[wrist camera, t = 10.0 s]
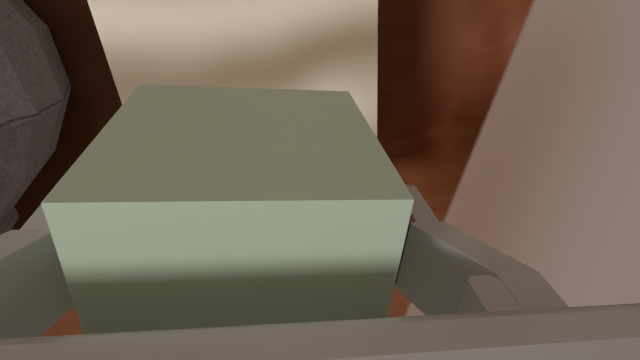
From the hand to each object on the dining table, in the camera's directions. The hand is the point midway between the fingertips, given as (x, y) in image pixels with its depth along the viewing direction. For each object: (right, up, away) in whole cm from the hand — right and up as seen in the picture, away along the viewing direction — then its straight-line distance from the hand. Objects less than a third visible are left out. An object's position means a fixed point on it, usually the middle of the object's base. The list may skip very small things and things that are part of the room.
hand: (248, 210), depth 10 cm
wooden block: (-2, +8, +13) cm, 16 cm away
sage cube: (0, +1, +1) cm, 2 cm away
